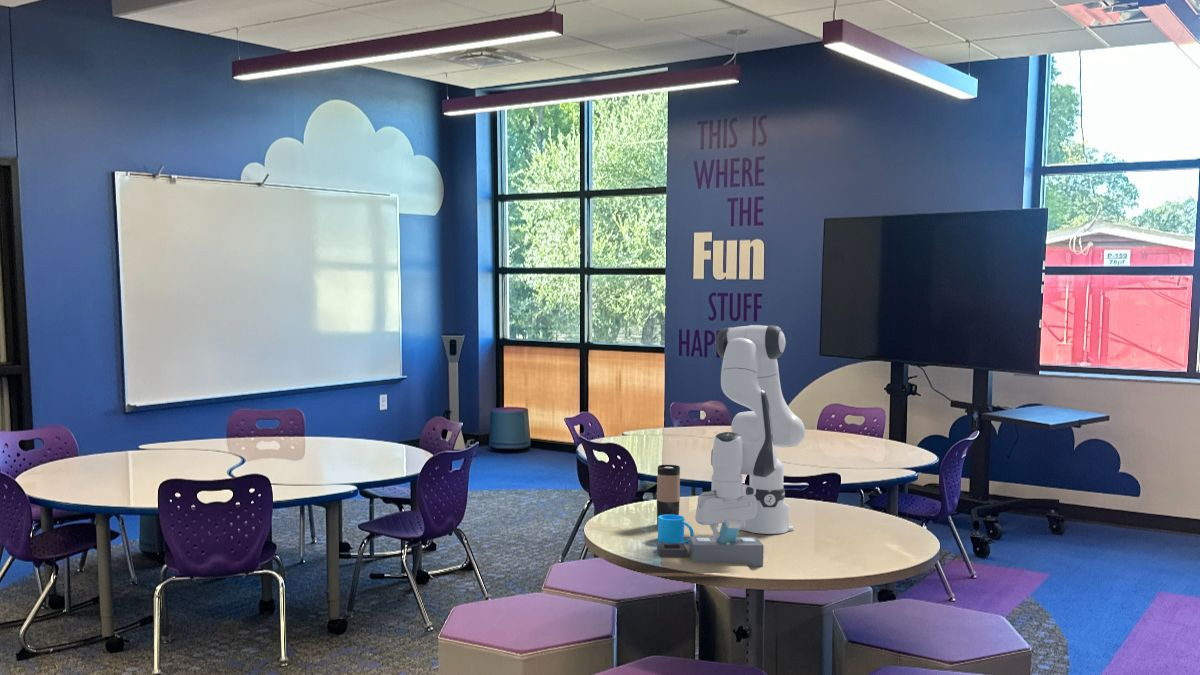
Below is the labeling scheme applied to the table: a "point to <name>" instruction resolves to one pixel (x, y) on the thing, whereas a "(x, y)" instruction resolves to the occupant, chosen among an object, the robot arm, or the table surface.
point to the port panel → (726, 551)
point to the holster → (672, 549)
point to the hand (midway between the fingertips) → (725, 536)
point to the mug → (672, 529)
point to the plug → (729, 531)
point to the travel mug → (668, 490)
